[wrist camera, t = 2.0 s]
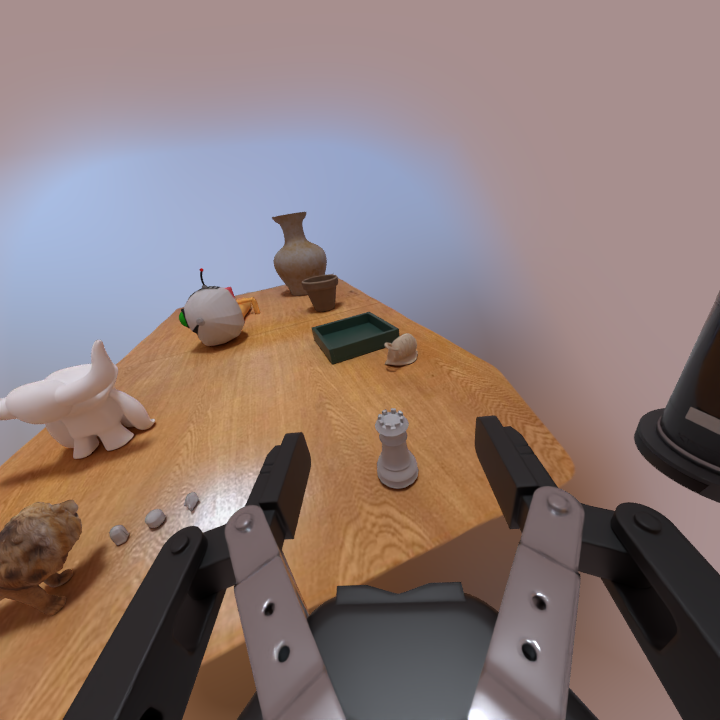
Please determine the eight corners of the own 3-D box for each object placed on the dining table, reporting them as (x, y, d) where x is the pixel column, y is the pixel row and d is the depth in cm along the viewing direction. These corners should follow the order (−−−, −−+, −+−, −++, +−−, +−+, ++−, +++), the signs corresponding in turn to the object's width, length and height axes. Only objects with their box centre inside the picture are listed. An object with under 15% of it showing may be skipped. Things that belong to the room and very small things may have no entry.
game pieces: (201, 495, 31) (194, 483, 31) (200, 510, 30) (193, 498, 29) (120, 532, 29) (109, 520, 28) (113, 550, 27) (102, 539, 26)
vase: (279, 292, 127) (259, 220, 113) (324, 281, 133) (309, 212, 119) (287, 301, 108) (263, 217, 94) (338, 289, 114) (323, 208, 100)
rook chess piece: (370, 482, 29) (359, 426, 26) (387, 452, 33) (379, 399, 29) (410, 497, 27) (404, 438, 24) (424, 464, 31) (420, 407, 27)
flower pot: (347, 302, 94) (342, 272, 89) (335, 313, 85) (328, 281, 80) (317, 304, 98) (311, 275, 93) (303, 315, 89) (294, 284, 84)
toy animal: (-2, 497, 36) (-127, 392, 28) (65, 435, 47) (-13, 347, 39) (158, 453, 39) (86, 347, 31) (186, 404, 50) (137, 316, 42)
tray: (371, 323, 72) (369, 311, 71) (400, 342, 59) (398, 328, 58) (314, 339, 68) (311, 327, 67) (332, 364, 55) (329, 350, 54)
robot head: (208, 336, 84) (178, 269, 74) (255, 327, 85) (232, 260, 75) (187, 360, 69) (146, 280, 60) (244, 348, 70) (213, 268, 61)
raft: (178, 341, 84) (164, 313, 80) (208, 313, 110) (199, 291, 106) (253, 326, 86) (243, 298, 82) (265, 302, 112) (258, 280, 108)
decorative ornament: (424, 355, 52) (423, 330, 50) (393, 374, 48) (390, 346, 46) (408, 350, 55) (406, 325, 53) (378, 367, 51) (374, 341, 49)
